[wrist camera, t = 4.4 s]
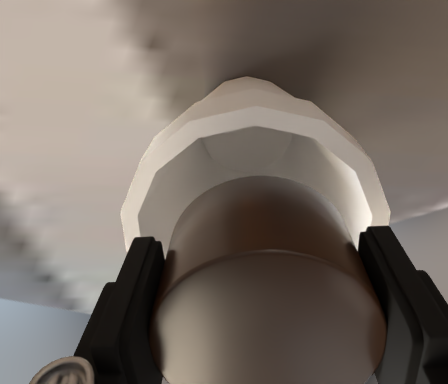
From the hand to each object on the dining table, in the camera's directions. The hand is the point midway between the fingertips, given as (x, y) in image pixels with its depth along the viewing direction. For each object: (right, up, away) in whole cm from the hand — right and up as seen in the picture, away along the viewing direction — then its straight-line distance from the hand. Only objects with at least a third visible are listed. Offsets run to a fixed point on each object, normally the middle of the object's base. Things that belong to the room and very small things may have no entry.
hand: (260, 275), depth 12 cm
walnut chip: (0, 0, +1) cm, 1 cm away
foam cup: (0, +7, +14) cm, 16 cm away
